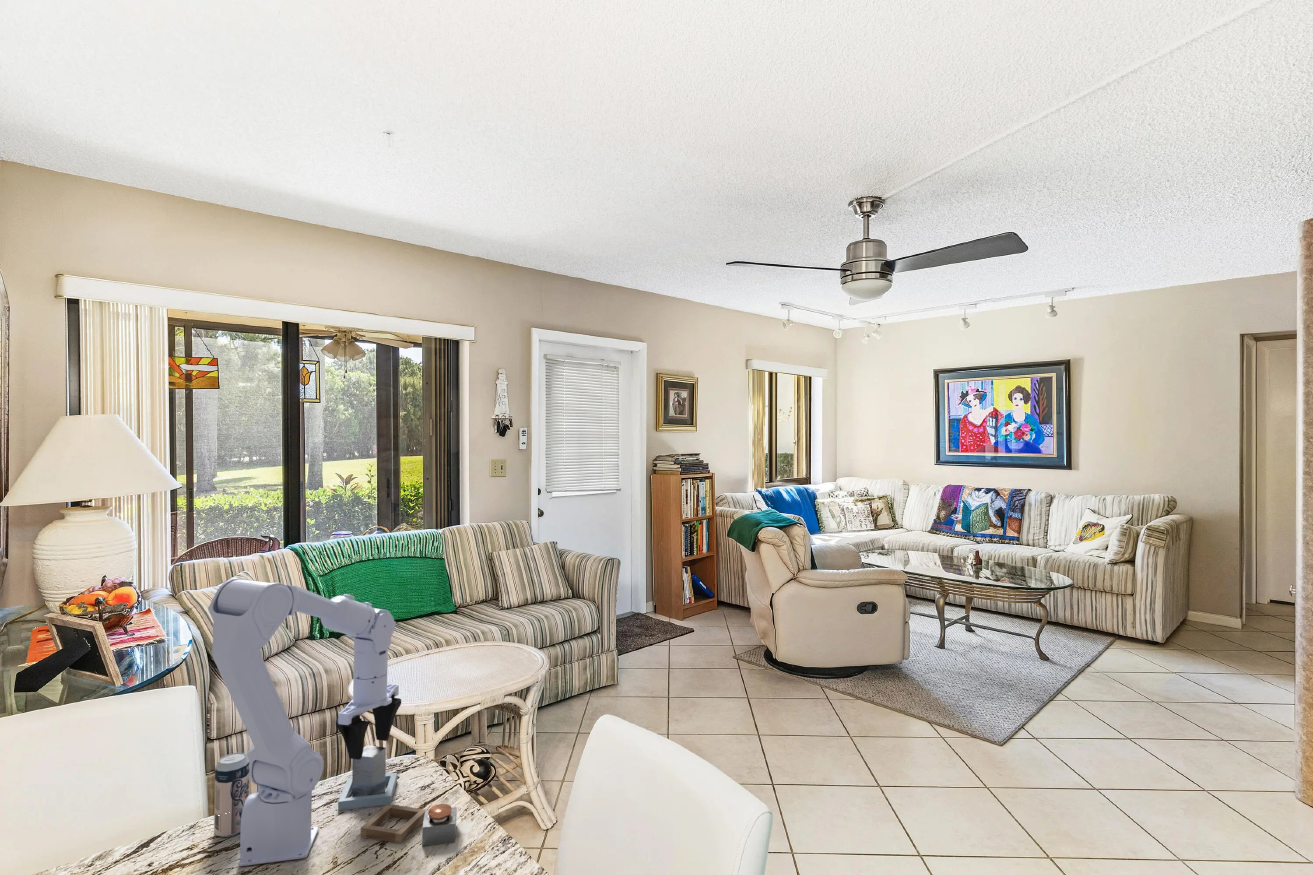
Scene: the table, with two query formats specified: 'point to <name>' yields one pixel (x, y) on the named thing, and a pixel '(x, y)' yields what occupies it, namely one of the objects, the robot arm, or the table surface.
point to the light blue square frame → (367, 800)
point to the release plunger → (439, 813)
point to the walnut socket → (388, 834)
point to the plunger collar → (439, 830)
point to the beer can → (230, 793)
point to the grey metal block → (369, 772)
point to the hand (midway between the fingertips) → (369, 748)
